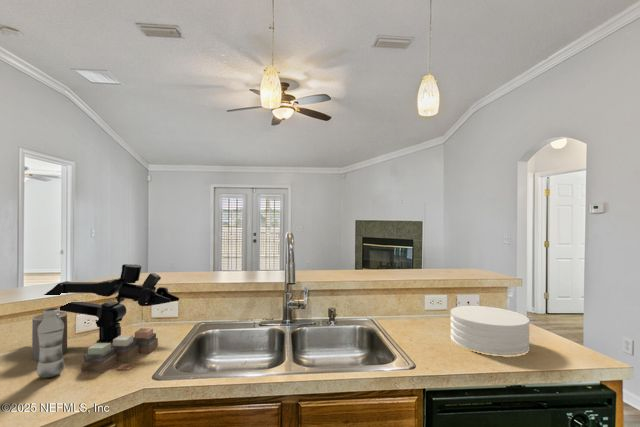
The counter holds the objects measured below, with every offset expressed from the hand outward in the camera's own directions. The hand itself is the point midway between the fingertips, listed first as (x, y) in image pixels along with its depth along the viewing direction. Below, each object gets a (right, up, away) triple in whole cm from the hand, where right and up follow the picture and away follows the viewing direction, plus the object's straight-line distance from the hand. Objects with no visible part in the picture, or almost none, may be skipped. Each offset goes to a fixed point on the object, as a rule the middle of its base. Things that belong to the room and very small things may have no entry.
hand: (174, 300), depth 138 cm
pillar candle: (-37, -15, -16) cm, 43 cm away
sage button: (-14, -11, -25) cm, 31 cm away
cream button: (-10, -11, -18) cm, 23 cm away
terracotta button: (-7, -11, -10) cm, 17 cm away
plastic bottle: (-25, -15, -31) cm, 43 cm away
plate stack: (+124, -18, +1) cm, 125 cm away
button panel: (-10, -15, -18) cm, 26 cm away
